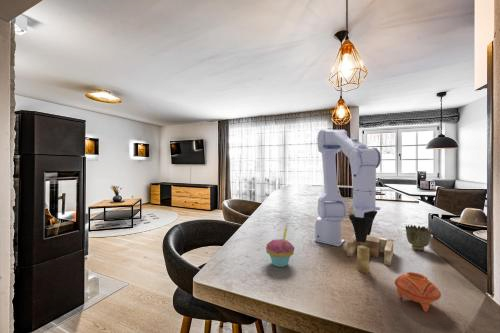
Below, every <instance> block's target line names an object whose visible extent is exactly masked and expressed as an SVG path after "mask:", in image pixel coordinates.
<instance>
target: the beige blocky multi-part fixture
mask: <svg viewBox="0 0 500 333" xmlns="http://www.w3.org/2000/svg"><path fill="white" fill-rule="evenodd" d="M367 236H370V237H376V238H380V253H383V252H384V253H383V254H384V255H383V256H384V257H383V260H384V261H383V264H386V265H385V266H388V265H390V266H389V267H391V265H392V261H393V255H394V239H391V238H390V239H389V238H384V237H379V236H374V235H373V236H372V235H367ZM358 246H362V242H358V241H357V240H356V236H355V232H354V233H353V235H351V236H350V238H349V239H348V240H347V242H346V256H348V257H353V256H354V254H355V253H356V251H357V247H358Z"/></svg>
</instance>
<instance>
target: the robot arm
mask: <svg viewBox="0 0 500 333" xmlns="http://www.w3.org/2000/svg"><path fill="white" fill-rule="evenodd" d="M316 142H317V148H318V150H317V151H318V152H320V154H321V157H322V170H323V171H322V172H323V186H324V193H323V195H321V196H320V197H319V198H318V200H317V208H316V209H317V210H316V211H317V215H318V217H317V218H316V219H315V224H314V225H315V226H314V227H315V228H314V229H315V230H314V232H315V233H314V234H315V237H314V242H318V243H321V244H327V245H332V246H335V247H340V246H342V244H343V243H344V242H345V239H343V238H342V235H343V234H342V228H343V226H342V225H343V221H344V219H345V218H346V217H347V215H348V207H347V205H346V204H347V203H346V200H345V198H344V197H343V196H341V195H340V194H339V190H338V178H337V163H336V154H337V153H340V152H342V153H343V154H344V155H345V156H346V157H347V158H348V159H349V166H350V169H351V170H350V172H351V175H352V177H353V178H352V183H353V184H352V205H351V209H353V211H354V214H353V213H350V214H349V215H348V218H349V220H350V222H351V224H352V228H353V231H354V233H355V236H356V240H357V241H358V242H363V243H365V242H366V239H367V235H369V236H371V233H372V228H373V222H374V221H375V217H376V216H377V214H378V211H380V210H381V207H380V206H376V196H377V194H376V192H377V190H376V186H377V182H376V181H377V180H376V179H377V168H379V166H380V165H381V162H382V154H381V152H380V151H379V149H378V148H377V147H371V148H369V147H367V146H366V144H365V143H362V142H361V141H359V138H357V137H352V138H350V137H349V136H348V131H347V130H345V129H319V131H318V134H317V138H316Z"/></svg>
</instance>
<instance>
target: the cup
mask: <svg viewBox="0 0 500 333" xmlns="http://www.w3.org/2000/svg"><path fill="white" fill-rule="evenodd" d="M432 231H433V229H429V228H428V227H425V226H420V225H418V226H417V225H412V224H411V225H409V224H408V225H407V224H406V225H405V233H406V234H405V236H406V240H407V241H408V243H409V244H411V249H412V250H414V251H417V252H424V251H425V248H426V247H427V246H428V245H429V244H430V241H431V237H432Z"/></svg>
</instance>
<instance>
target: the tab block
mask: <svg viewBox="0 0 500 333" xmlns="http://www.w3.org/2000/svg"><path fill="white" fill-rule="evenodd" d="M370 236H371V235H369V236H367V239H366V242H365V243H363V242H362V246H358V247H357V250H356V251H357V252H356V253H357V254H356V255H357V258H356V260H357V261H356V262H357V263H356V264H357V265H356V270H357V271H358V272H360V273H363V274H368V273H370V258H371V257H373V256H374V257H373V258H377V257H380V255H381V252H380V238H381V237H380V238H376V237H377V236H374V237H370ZM379 254H380V255H379Z"/></svg>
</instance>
